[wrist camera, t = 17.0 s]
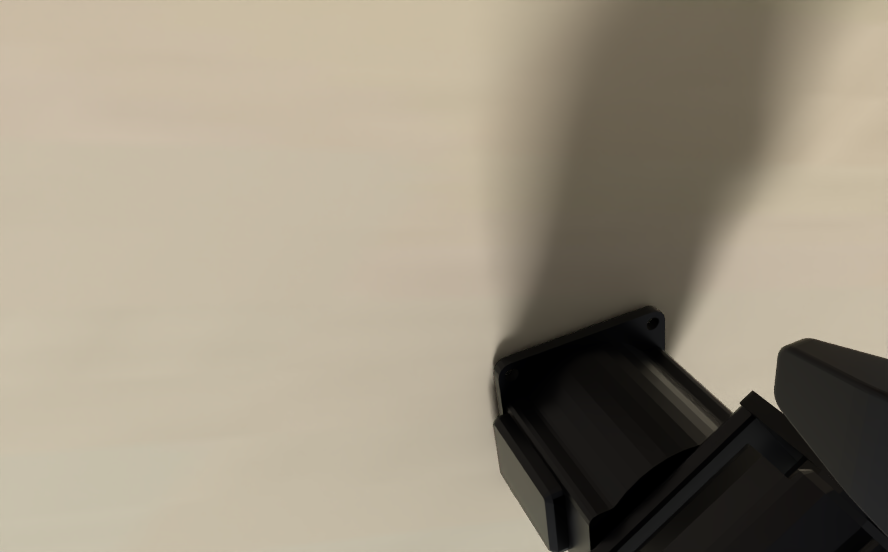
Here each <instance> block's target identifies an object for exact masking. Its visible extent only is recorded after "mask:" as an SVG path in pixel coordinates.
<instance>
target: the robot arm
mask: <svg viewBox="0 0 888 552" xmlns="http://www.w3.org/2000/svg"><path fill="white" fill-rule="evenodd" d="M650 319H652V320H651V321H650V322H649V323H647V322H648V321H649V320H650ZM511 369H513V370H512V372H511V373H509V374H508V375H505V374H506V373H507V372H508V371H509V370H511ZM494 380H495V388H496V395H497V402H498V409H499V416H497V417H496V419H495V421H494V424H493V426H494V433H495V440H496V447H497V454H498V461H499V468H500V473H501V475H502V476H503V478H504V480H505V481H506V483H507V484H508V486H509V487H510V490H511V491H512V493H513V495H514V496H515V498H516V499H517V500H518V502H519V503H520V505H521V507H522V508H523V510H524V511H525V513H526V515H527V516H528V518H529V519H530V521H531V523H532V524H533V526H534V527H535V529H536V531H537V532H538V534H539V535H540V537H541V539H542V540H543V542H544V543H545V545H546V547H547V548H548V550H549V551H551V552H564V551H567V550H568V552H888V359H886V358H882V357H879V356H875V355H871V354H868V353H864V352H860V351H857V350H853V349H849V348H845V347H842V346H838V345H834V344H831V343H827V342H823V341H820V340H816V339H812V338H805V339H801V340H799V341H796V342H794V343H791V344H788V345H786V346H784V347H782V348H781V350H780V351H779V353H778V358H777V368H776V377H775V386H774V395H775V399H776V402H777V404H778V406H779V408H780V410H781V411H782V412H783V413H782V412H780V411H779V410H778V409H776V408H775V407H774V406H772V405H771V404H770V403H768V402H767V401H766V400H765V399H763V398H762V397H761V396H759V395H758V394H757V393H755V392H754V391H753V390H752V391H751V392H750V393H749V394H748V395H747V396H746V397H745V398H744V399H743V400H742V401H741V402H740V404H741V406H740V407H739V408H738V409H737V410H736V411H735V412H734V413H733V412H732V411H731V410H729V409H728V408H727V407H726V406H725V405H724V404H723V403H722V402H721V401H719V400H718V399H717V398H716V397H715V396H714V395H713V394H712V393H711V392H709V391H708V390H707V389H706V388H705V387H704V386H703V385H702V384H701V383H699V382H698V381H697V380H696V379H695V378H694V377H693V376H692V375H691V374H689V373H688V372H687V371H686V370H685V369H684V368H683V367H682V366H680V365H679V364H678V363H677V362H676V361H675V360H674V359H673V358H672V357H670V356H669V355H668V354H667V353H666V352H665V317H664V315H663V314H662V312H660V311H659V310H658V309H657V308H656V307H653V306H647V307H644V308H641V309H638V310H636V311H633V312H630V313H627V314H624V315H622V316H619V317H616V318H613V319H610V320H608V321H605V322H602V323H599V324H596V325H594V326H591V327H588V328H585V329H582V330H580V331H577V332H574V333H571V334H569V335H566V336H563V337H560V338H557V339H555V340H552V341H549V342H546V343H543V344H541V345H538V346H535V347H532V348H529V349H527V350H524V351H521V352H518V353H515V354H513V355H510V356H507V357H505V358H503V359H501V360H500V361H499V362H498V363H497V364H496V366H495V368H494Z"/></svg>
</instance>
